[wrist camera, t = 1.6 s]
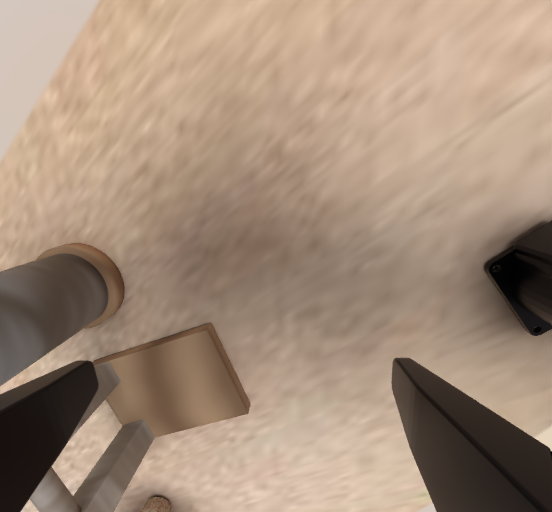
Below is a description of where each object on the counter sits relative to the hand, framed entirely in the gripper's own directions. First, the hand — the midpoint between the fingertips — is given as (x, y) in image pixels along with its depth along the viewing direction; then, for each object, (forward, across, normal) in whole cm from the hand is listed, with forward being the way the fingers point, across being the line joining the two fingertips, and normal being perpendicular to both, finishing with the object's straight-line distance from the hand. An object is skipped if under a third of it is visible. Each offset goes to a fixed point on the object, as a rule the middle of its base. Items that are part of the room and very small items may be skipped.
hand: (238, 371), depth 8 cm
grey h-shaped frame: (+12, +9, +10) cm, 18 cm away
